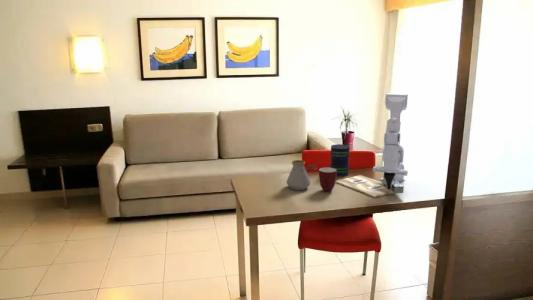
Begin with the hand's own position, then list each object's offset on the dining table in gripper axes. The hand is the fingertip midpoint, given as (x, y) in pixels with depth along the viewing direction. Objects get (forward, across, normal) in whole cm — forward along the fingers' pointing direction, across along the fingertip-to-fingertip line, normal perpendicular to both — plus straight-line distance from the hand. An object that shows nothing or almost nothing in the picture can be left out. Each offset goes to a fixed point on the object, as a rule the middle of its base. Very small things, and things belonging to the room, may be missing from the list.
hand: (388, 188), depth 174 cm
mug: (+4, -26, -6) cm, 27 cm away
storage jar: (+4, -30, +23) cm, 38 cm away
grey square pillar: (+2, 0, +6) cm, 7 cm away
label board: (+3, -12, +9) cm, 15 cm away
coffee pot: (+4, -37, -11) cm, 38 cm away
